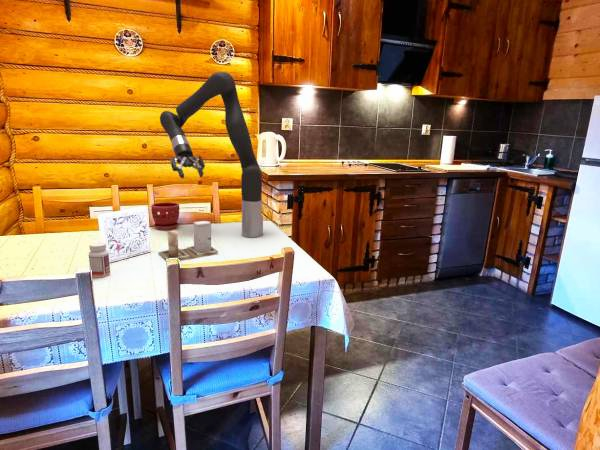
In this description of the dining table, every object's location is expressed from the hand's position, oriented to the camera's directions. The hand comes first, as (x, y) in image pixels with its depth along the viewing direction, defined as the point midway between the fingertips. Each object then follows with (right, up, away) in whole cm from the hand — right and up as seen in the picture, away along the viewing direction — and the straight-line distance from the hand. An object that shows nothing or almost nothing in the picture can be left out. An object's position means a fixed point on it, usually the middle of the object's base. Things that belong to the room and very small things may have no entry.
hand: (192, 176), depth 178 cm
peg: (-3, -33, -18) cm, 38 cm away
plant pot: (-20, -23, +25) cm, 39 cm away
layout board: (+2, -34, -15) cm, 37 cm away
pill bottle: (-23, -39, -36) cm, 57 cm away
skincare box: (+7, -32, -11) cm, 34 cm away
